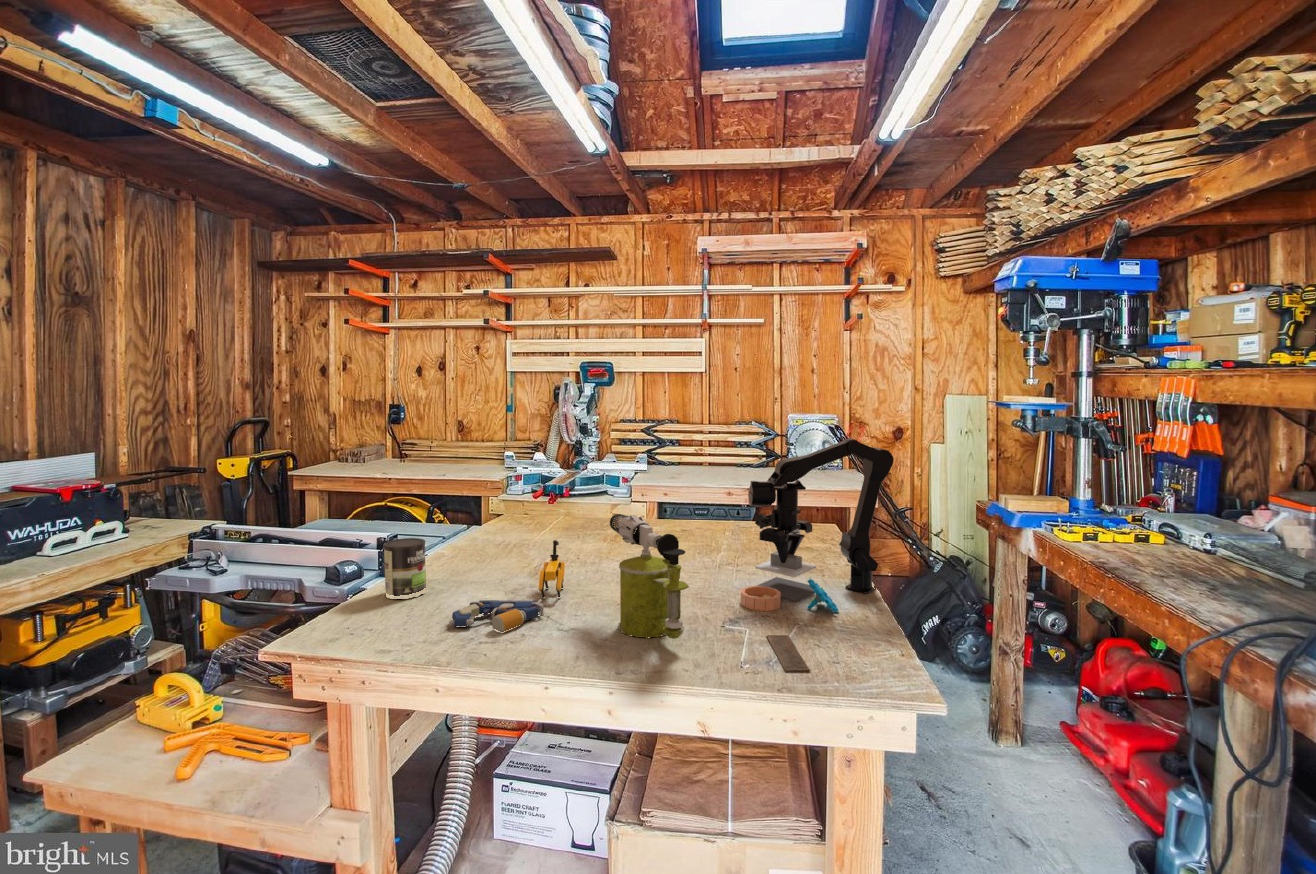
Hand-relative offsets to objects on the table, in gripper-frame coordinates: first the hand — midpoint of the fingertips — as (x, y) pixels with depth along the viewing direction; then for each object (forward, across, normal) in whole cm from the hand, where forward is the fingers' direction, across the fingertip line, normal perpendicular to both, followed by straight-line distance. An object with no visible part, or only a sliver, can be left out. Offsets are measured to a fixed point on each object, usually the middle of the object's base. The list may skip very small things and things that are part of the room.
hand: (786, 561), depth 160 cm
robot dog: (+8, +45, -45) cm, 64 cm away
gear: (+8, +7, +14) cm, 18 cm away
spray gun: (+8, +67, -38) cm, 77 cm away
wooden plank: (+8, +35, +21) cm, 42 cm away
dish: (+8, +14, +1) cm, 16 cm away
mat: (+8, 0, 0) cm, 8 cm away
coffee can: (+8, +73, -73) cm, 104 cm away
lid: (+2, 0, 0) cm, 2 cm away
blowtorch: (+8, +45, -10) cm, 47 cm away
